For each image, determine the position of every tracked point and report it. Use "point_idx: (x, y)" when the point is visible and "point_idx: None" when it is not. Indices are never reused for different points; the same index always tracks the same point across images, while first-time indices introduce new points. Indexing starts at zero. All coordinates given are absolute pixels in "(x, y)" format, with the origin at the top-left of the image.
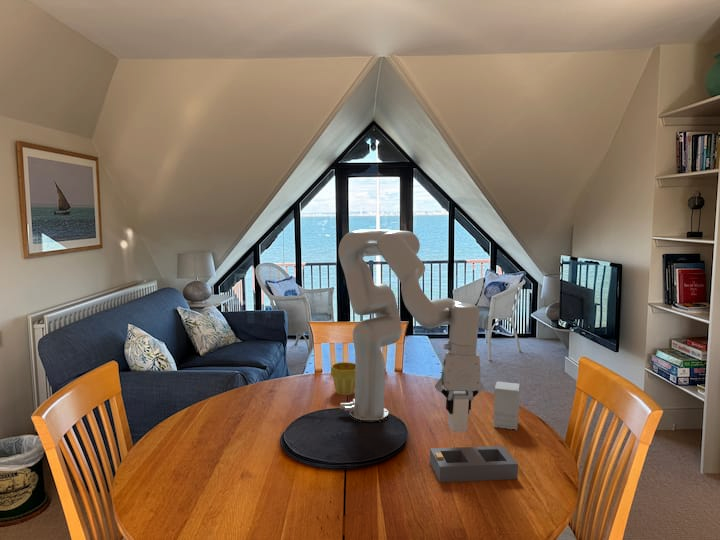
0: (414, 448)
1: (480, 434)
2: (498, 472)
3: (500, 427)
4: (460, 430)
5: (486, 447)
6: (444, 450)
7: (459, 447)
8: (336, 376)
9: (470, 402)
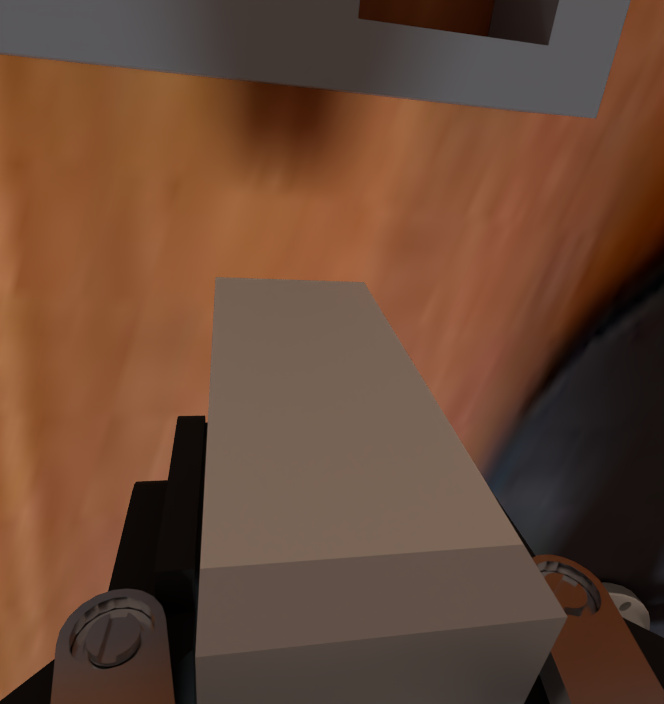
0: (522, 322)
1: (24, 482)
2: None
3: None
4: (290, 282)
5: (55, 32)
6: (506, 49)
7: (346, 88)
8: None
9: (129, 568)
